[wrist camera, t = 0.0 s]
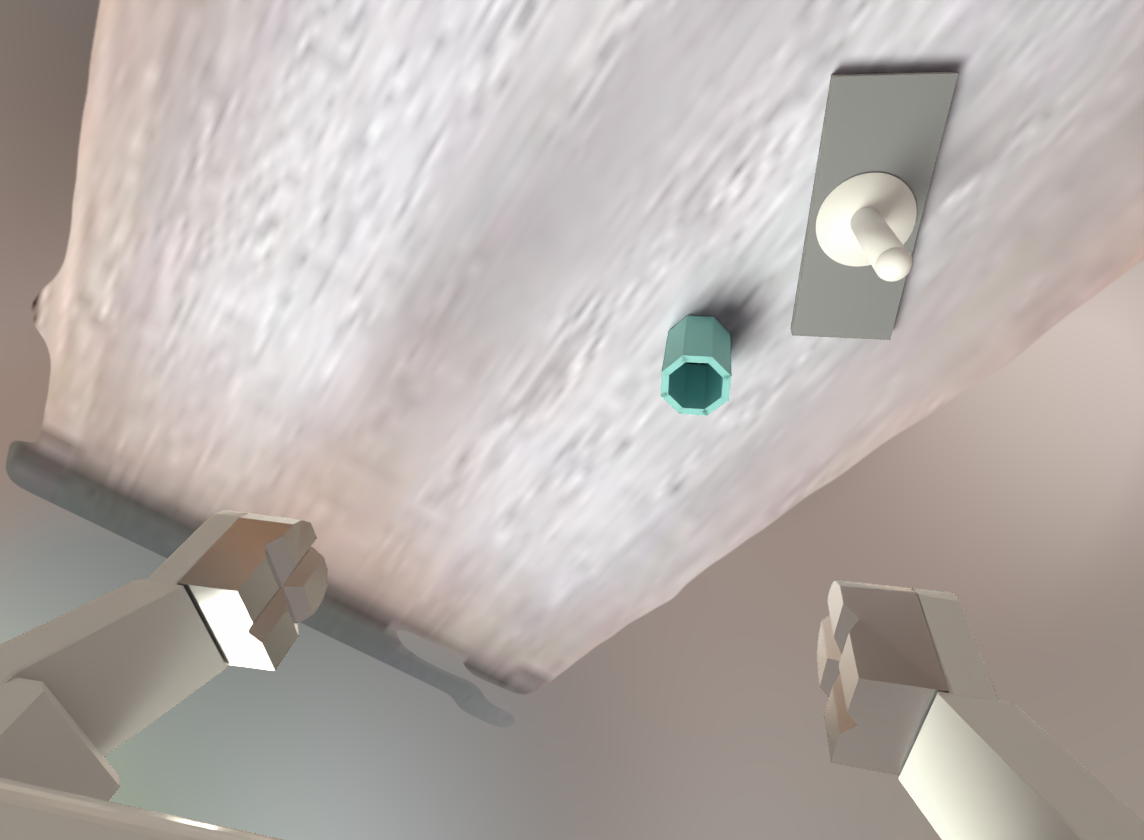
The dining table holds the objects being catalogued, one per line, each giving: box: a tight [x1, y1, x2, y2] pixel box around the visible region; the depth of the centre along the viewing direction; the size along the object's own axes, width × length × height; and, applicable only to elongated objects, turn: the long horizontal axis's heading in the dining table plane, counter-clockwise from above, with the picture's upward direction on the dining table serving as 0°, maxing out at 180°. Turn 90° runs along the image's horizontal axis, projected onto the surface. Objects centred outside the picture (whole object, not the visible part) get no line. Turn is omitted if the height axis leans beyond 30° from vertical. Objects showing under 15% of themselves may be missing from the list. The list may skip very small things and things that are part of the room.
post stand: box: [791, 72, 958, 340], centre depth 45 cm, size 20×8×13 cm, turn 3°
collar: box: [661, 316, 731, 416], centre depth 56 cm, size 6×6×8 cm
